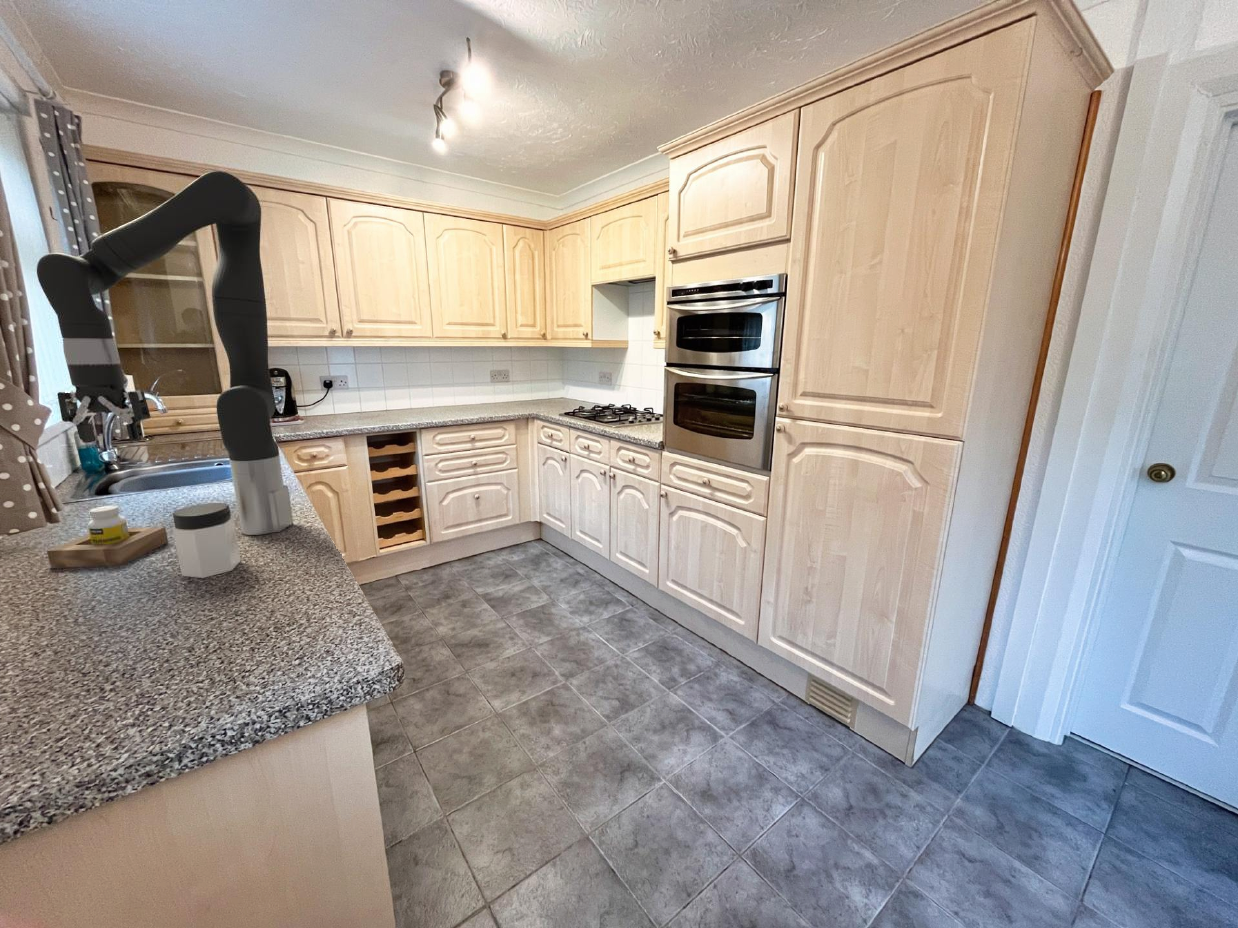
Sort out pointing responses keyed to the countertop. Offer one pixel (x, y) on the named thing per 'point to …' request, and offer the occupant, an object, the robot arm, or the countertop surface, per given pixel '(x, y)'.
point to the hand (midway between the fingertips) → (112, 441)
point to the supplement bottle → (107, 526)
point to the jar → (205, 540)
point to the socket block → (107, 549)
